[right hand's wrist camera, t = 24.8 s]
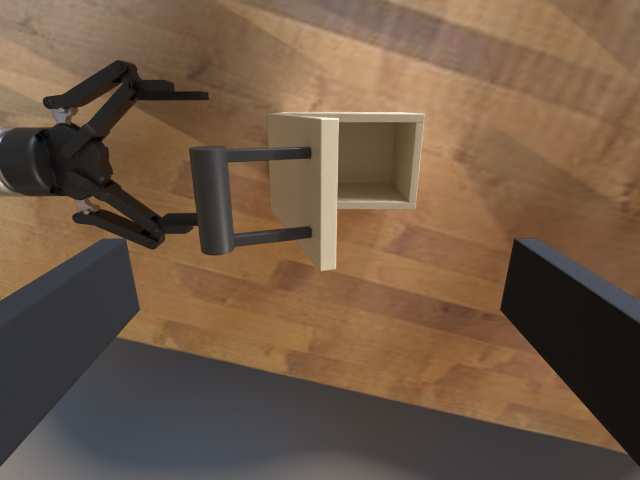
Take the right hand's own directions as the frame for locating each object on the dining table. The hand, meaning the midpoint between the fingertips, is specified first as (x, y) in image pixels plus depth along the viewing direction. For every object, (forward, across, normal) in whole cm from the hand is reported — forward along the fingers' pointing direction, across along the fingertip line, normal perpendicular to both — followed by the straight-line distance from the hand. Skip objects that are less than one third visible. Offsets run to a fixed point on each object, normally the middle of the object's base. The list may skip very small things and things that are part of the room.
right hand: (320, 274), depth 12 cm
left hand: (+30, -12, 0) cm, 32 cm away
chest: (+37, +3, 0) cm, 37 cm away
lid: (+18, -1, 0) cm, 18 cm away
